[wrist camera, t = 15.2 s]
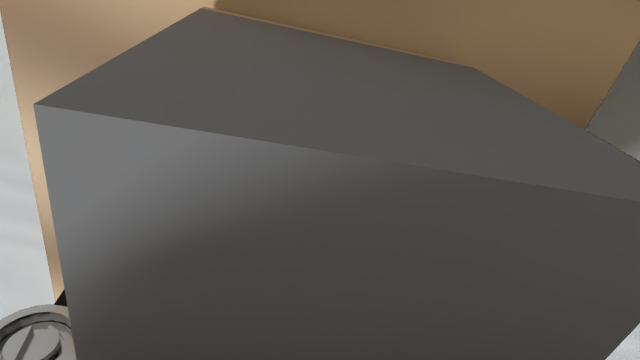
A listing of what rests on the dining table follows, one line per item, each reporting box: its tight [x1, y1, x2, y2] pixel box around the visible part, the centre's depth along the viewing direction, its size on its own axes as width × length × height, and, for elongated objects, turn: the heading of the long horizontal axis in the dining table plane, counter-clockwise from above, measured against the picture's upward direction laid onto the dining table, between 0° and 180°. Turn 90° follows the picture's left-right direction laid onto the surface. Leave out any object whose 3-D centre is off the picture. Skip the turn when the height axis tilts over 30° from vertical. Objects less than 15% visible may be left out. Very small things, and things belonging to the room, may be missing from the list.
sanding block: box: [33, 7, 640, 360], centre depth 8 cm, size 10×6×6 cm, turn 168°
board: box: [0, 0, 640, 302], centre depth 13 cm, size 26×14×2 cm, turn 168°
